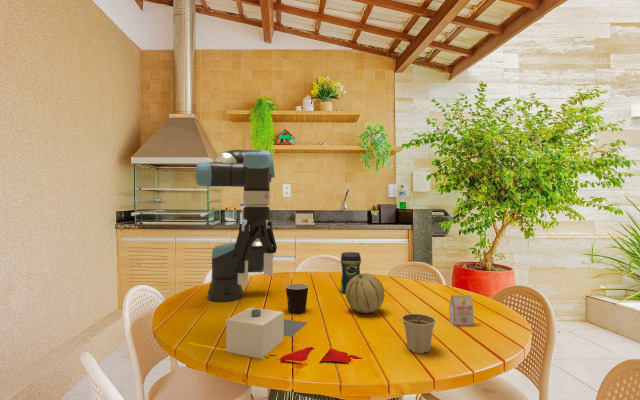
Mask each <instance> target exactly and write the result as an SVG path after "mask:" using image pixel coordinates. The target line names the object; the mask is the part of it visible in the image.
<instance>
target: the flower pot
mask: <svg viewBox="0 0 640 400" xmlns="http://www.w3.org/2000/svg"><path fill="white" fill-rule="evenodd" d="M401 320H402V321H403V325H404V330H405V331H404V332H405V338H406V345H407V349H408V350H410V351H411V352H413V353H416V354H425V353H429V352H430V351H431V344H432V338H433V330H434V327H435V324H436V323H437V321H436V318H434V317H432V316H430V315H428V314H422V313H408V314H404V315H402V316H401Z"/></svg>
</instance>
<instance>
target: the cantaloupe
mask: <svg viewBox="0 0 640 400" xmlns="http://www.w3.org/2000/svg"><path fill="white" fill-rule="evenodd" d="M345 298H346V301H347V303H348V305H349V306H350V309H351V308H352V309H353V310H354V311H356V312H358V313H361V314H371V313H374V312H375V311H377V310H378V309H379V308H381V306H382V305H383V303H384V300H385V289H384V286H383V283H382V282H381V280H380V279H379V278H377V277H376V276H375V275H373V274H370V273H360V274H359V275H356V276H355V277H353V278H352V279H350V281H349V282H348V284H347V287H346V293H345Z"/></svg>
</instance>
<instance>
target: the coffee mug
mask: <svg viewBox="0 0 640 400" xmlns="http://www.w3.org/2000/svg"><path fill="white" fill-rule="evenodd" d="M285 293H286V302H287V311H288V314H291V315H301V314H305V313H306V310H307V302H308V293H309V284H305V283H289V284H287V285H286V286H285Z"/></svg>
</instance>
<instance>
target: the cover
mask: <svg viewBox="0 0 640 400" xmlns="http://www.w3.org/2000/svg"><path fill="white" fill-rule="evenodd" d="M284 314H285V313H284V311H279V310H271V309H266V308H265V309H264V308H256V307H248V308H246V309H243V310H242V311H241V312H239V313H237V314H235V315H233V316H231V317H229V318H227V319H226V327H225V328H226V332H225V333H226V340H225V342H226V345H225V346H226V348H225V351H226V353H231V354H236V355H240V356H245V357H251V358H255V359H260V360H264V359H265V358H266V355H268V354H269V353H270V352H271V351H273V349H275V348H277V347H278V345H279V344H281V343H282V342H283V341H284V340H285V339H284V337H285V336H284V319H285V315H284Z"/></svg>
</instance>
